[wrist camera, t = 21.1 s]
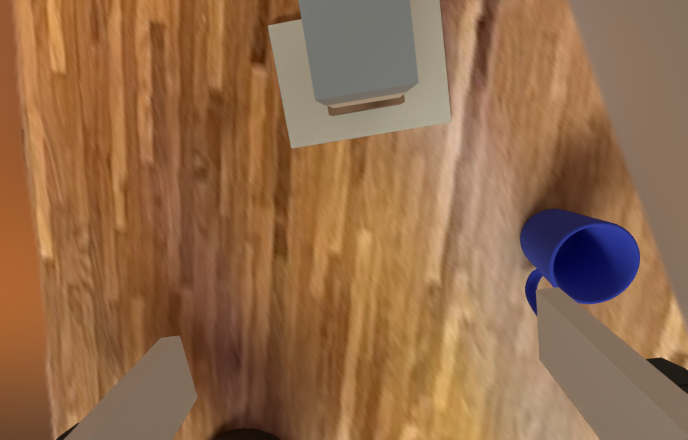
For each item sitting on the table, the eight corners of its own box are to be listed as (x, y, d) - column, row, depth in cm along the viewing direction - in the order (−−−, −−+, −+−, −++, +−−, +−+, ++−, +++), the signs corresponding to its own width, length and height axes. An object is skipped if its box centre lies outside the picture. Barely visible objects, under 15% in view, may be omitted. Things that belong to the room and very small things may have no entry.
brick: (325, 105, 31) (315, 100, 24) (311, 18, 30) (296, -13, 23) (406, 92, 31) (418, 82, 24) (396, 2, 29) (406, -35, 22)
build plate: (292, 148, 45) (291, 148, 44) (269, 27, 42) (267, 25, 41) (449, 122, 44) (451, 122, 43) (437, -5, 41) (438, -8, 40)
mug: (485, 282, 48) (517, 322, 38) (529, 191, 45) (575, 209, 35) (547, 304, 48) (594, 349, 38) (594, 215, 45) (658, 239, 36)
